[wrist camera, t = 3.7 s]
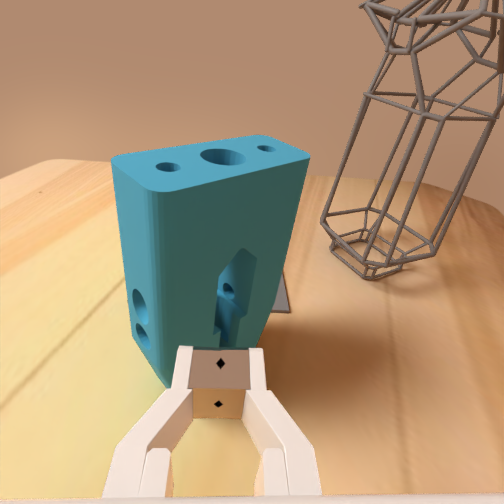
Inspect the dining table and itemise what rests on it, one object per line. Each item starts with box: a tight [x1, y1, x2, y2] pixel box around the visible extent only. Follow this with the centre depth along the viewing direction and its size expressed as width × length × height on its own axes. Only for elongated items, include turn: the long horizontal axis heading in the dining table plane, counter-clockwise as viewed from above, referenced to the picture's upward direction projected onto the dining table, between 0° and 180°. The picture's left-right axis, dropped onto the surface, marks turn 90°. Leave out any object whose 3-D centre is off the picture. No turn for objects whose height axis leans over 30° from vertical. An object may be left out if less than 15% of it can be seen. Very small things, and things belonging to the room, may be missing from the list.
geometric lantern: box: [320, 0, 504, 279], centre depth 39 cm, size 16×16×35 cm
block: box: [111, 135, 310, 388], centre depth 25 cm, size 12×5×20 cm, turn 134°
